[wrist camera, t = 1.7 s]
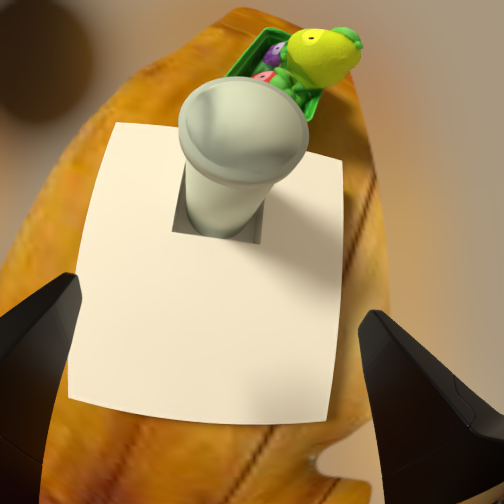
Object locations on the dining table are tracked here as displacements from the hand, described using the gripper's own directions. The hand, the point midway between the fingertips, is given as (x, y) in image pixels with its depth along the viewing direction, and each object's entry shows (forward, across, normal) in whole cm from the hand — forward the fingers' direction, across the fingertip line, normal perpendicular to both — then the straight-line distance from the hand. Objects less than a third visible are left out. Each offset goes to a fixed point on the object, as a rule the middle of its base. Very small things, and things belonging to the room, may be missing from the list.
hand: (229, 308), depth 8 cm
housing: (+11, 0, +8) cm, 13 cm away
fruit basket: (+24, -4, -4) cm, 25 cm away
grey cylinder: (+14, 0, +4) cm, 14 cm away
